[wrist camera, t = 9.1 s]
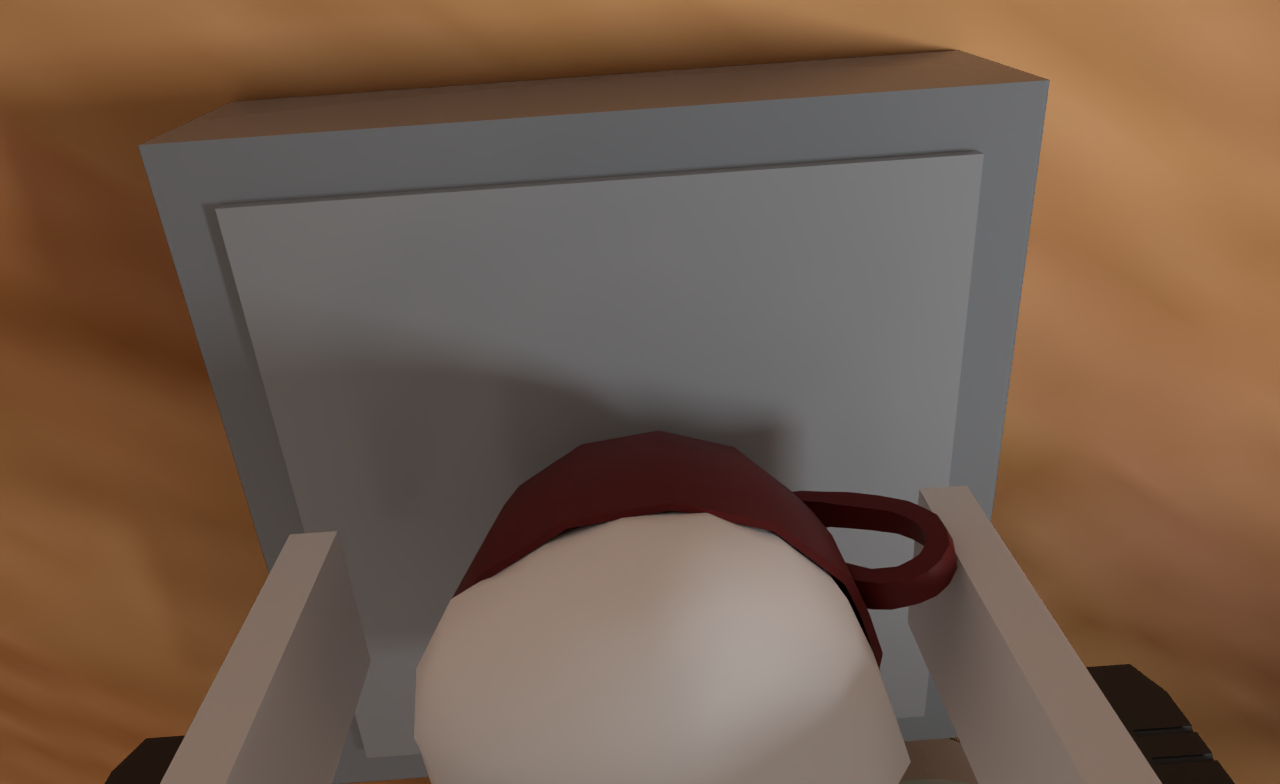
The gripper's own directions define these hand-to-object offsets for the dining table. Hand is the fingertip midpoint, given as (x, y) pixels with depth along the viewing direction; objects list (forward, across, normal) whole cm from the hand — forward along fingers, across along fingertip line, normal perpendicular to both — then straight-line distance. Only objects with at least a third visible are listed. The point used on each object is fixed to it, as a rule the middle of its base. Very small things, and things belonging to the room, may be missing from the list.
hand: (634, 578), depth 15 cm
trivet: (+6, 0, 0) cm, 6 cm away
